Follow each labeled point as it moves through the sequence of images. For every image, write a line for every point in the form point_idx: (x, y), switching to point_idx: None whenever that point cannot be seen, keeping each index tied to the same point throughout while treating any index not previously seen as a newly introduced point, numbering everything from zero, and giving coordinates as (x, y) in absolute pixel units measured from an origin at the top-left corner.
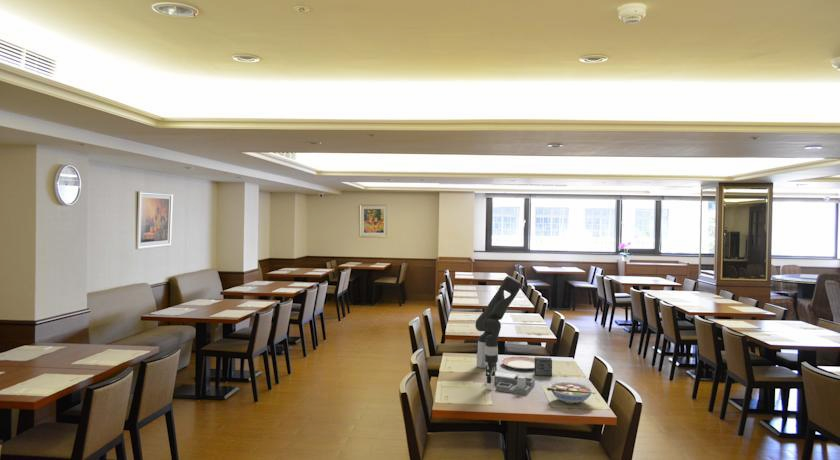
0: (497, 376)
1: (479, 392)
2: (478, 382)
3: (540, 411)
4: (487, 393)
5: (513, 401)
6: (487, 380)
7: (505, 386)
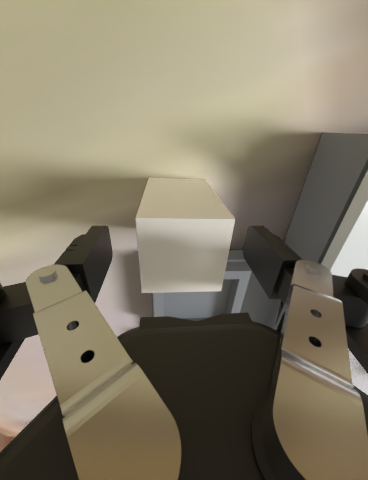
0: (329, 257)
1: (19, 153)
2: (324, 40)
3: (6, 419)
4: (48, 221)
5: (31, 353)
6: (68, 248)
7: (206, 298)
